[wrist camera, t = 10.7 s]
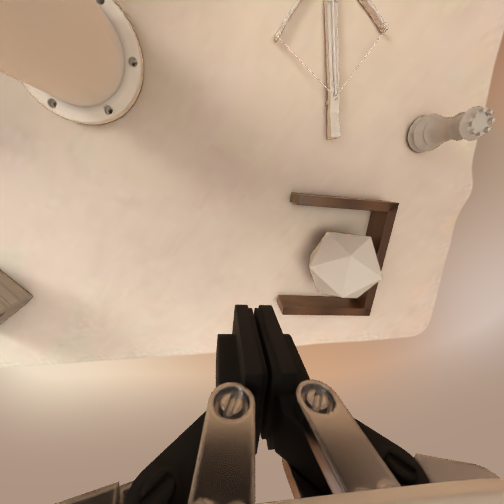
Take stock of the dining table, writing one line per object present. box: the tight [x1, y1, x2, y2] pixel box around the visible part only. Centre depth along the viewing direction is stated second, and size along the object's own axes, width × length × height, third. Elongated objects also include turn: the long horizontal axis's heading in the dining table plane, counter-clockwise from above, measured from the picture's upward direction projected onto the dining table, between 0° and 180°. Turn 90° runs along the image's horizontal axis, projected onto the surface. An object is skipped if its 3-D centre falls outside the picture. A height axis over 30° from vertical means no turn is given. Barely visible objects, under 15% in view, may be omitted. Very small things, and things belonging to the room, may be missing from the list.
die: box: [309, 232, 382, 298], centre depth 32 cm, size 8×9×10 cm
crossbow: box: [275, 0, 388, 140], centre depth 27 cm, size 16×13×2 cm
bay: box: [277, 193, 399, 316], centre depth 34 cm, size 13×16×4 cm
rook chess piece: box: [408, 106, 495, 153], centre depth 28 cm, size 4×4×8 cm
